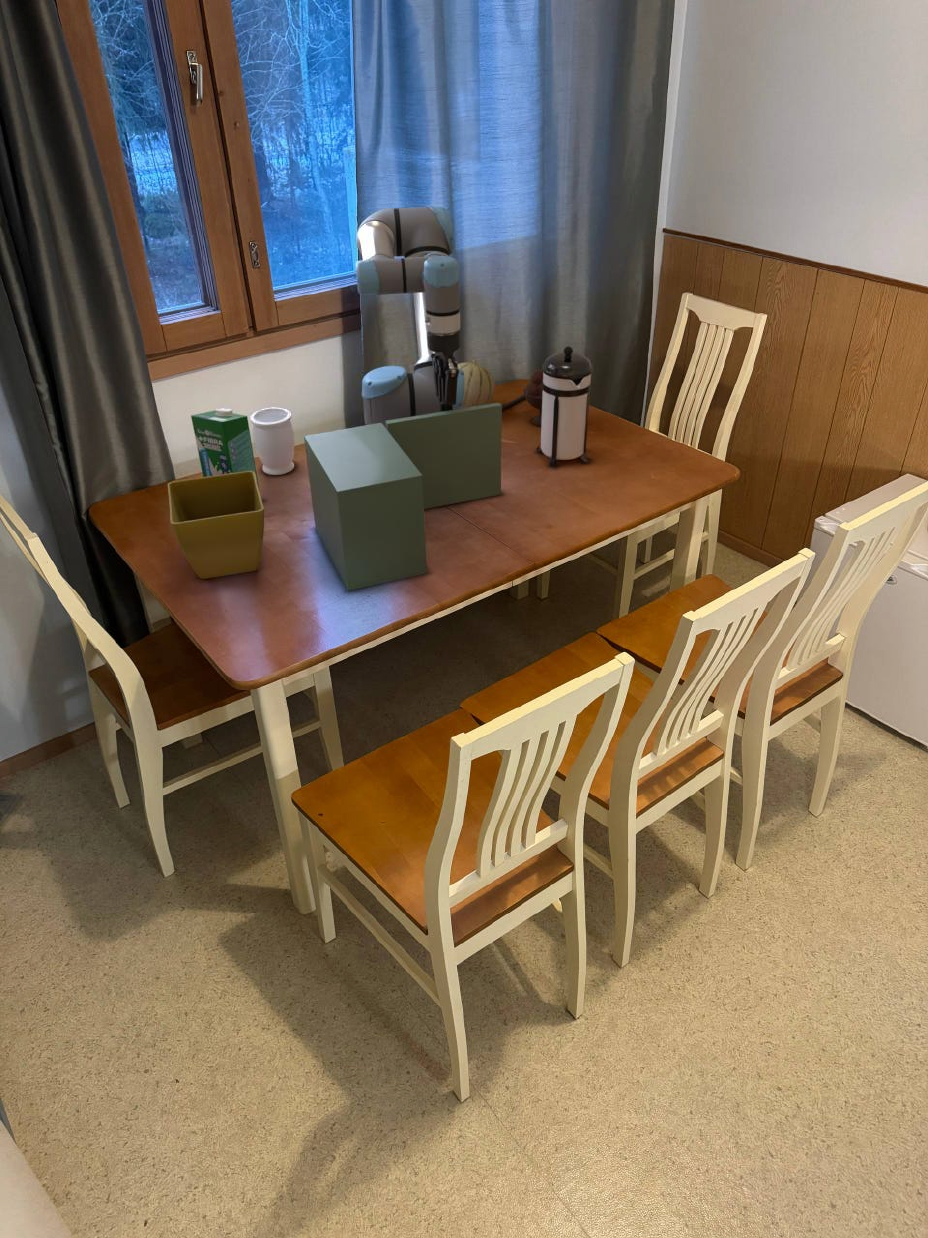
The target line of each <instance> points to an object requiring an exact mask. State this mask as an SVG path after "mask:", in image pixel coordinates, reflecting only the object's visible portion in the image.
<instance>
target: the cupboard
mask: <svg viewBox="0 0 928 1238" xmlns="http://www.w3.org/2000/svg"><path fill="white" fill-rule="evenodd" d="M303 440H304V447H305V456H306V463H307V473H308V479H309V487H310V488H309V489H310V495H311V504H312V512H313V520H314V527H315V528H314V529H315V531H316V533H317V535H318V536H319V539H320V541H321V542H322V545H323V547H324V548H325V550H326V552H327V554H328V556H329V558H330V560H331V562H332V564H333V565H334V567H335V569H336V571H337V573H338V575H339V577H340V579H341V581H342V583H343V585H344V587H345V588H346V591H347V592H350V591H354V590H359V589H364V588H368V587H371V586H372V587H373V586H376V585H380V584H385V583H390V582H395V581H398V580H404V579H408V578H411V577H417V576H420V575H425V574H427V573H428V571H427V568H428V567H427V548H426V547H427V546H426V528H425V527H426V525H425V523H426V522H425V509H424V500H423V480H422V479H423V478H422V474H421V473H420V472H419V470H418V469H417V468H416V466H415V465H414V464H413V463H412V461H411V460H410V459H409V457H408V456H407V455H406V454H405V452H404V451H403V450H402V448H401V447H400V446H399V445H398V443H397V442H396V441H395V439H394V438H393V437H392V436H391V434H390V433H389V432H388V430H387V429H386V428H385V427H384V425H383V424H382V423H376V424H371V425H365V424H364V425H360V426H354V427H349V428H343V429H336V430H331V431H324V432H320V433H319V432H318V433H313V434H307V435H303Z"/></svg>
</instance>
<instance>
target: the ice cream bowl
mask: <svg viewBox="0 0 928 1238" xmlns="http://www.w3.org/2000/svg"><path fill="white" fill-rule="evenodd" d="M542 380H543V371H542V368H540V369H537V370H535V371H534V372H533V373H532V375H531V377H530V381H529V383H527V385H526V386H525V388H524V389H523V390H522V391H523V395H524V396H525V398H524V399H525V400H526V402H527V403H528V404H529V405H530V406H531V407H532V408H534V409H536V410H538V416H535V417H534V418H533V419H532V420H531V421H532V423H533V425H535V426H539V427H541V423H542V396H543V389H542Z"/></svg>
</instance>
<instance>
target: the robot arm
mask: <svg viewBox="0 0 928 1238" xmlns="http://www.w3.org/2000/svg"><path fill="white" fill-rule="evenodd" d="M355 238H356V239H355V240H356V246H357V249H358V251H359V253H360V254H361V256H362V260H357V261H356V263H355V273H356V286H357V292H358V294H359V295H361V296H372V297H376V296H385V295H400V294H413V295H412V296H413V304H414V305H413V307H414V308H413V309H414V318H415V328H416V329H415V333H416V342H417V343H416V344H417V355H418V360H417V361H416V362H415V364H413V372H407V370H406V368H405V367H403V366H400V365H386V366H381V367H380V366H379V367H377V368H375V369H372V370H370V371H369V372H367V373H366V374H365V375H364V376H363V378H362V381H361V388H362V389H361V397H362V401H363V416H364V426H365V425H371V424H376V423H382V424H383V425H384V427H385V428H386V424H385V421H388V420H394V419H400V418H406V417H412V416H418V415H425V414H431V413H437V412H443V411H449V410H456V409H462V406H463V397H464V381H465V378H464V371H463V370H461V369H458V364H459V363H458V362H457V361H456V357H455V356H454V353H455V352H456V351H458V350H459V349H460V348H461V345H462V344H461V342H462V341H461V331H460V329H461V309H460V277H461V273H460V270H459V269H460V268H459V262H458V260H457V259H456V258H455V257H452V256H450V255H453V253H454V251H455V242H454V233H453V227H452V223H451V219H450V215H449V213H448V211H447V210H446V209H445V208H444V207H443V206H430V205H427V206H418V207H416V206H415V207H413V206H412V207H397V208H396V207H389V208H384V209H380V210H378V211H376V212H373V213H372V214H371V215H369V216H367V218H365V219H364V220H363V221H362V222H361V224H360V225H359V227H358V228H357V232H356V237H355ZM395 257H396V258H395ZM399 257H401V258H399ZM524 399H526V398H525V396H524V394H522V395H521V396H519V397H517V398H515V399H513V400H511V401H509V402H508V403H505V404H503V405H502V411H503V410H506V409H507V408H510V407H511V406H513V405H515V404H517V403H519V402H520V401H522V400H524Z"/></svg>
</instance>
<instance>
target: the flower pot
mask: <svg viewBox="0 0 928 1238" xmlns="http://www.w3.org/2000/svg"><path fill="white" fill-rule="evenodd" d="M258 485H259V483H258V484H257V480H256V475H255V472H254V471H244V472H237V473H230V474H223V475H216V476H209V477H203V476H201V477H195V478H187V479H181V480H173V481H170V482H168V483H167V492H168V493H167V494H168V502H169V503H168V504H169V515H170V516H169V517H170V518H169V519H170V524H171V527H172V530H173V533H174V535H175V537H176V539H177V541H178V544H179V546H180V548H181V550H182V552H183V554H184V556H185V557H186V560H187V561H188V563H189V565H190V566H191V568H192V570H193V571H194V572H195V574H196V575H197V577H198V578H199V579H201V580H206V579H207V580H208V579H213V578H218V577H224V576H231V575H237V574H243V573H249V572H255V571H257V570H258V569H259V566H260V565H259V564H260V562H261V557H262V551H263V550H262V549H263V543H264V533H265V509H264V504H263V501H262V496H261V491H260V487H259V488H258ZM259 491H260V492H259Z"/></svg>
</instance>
